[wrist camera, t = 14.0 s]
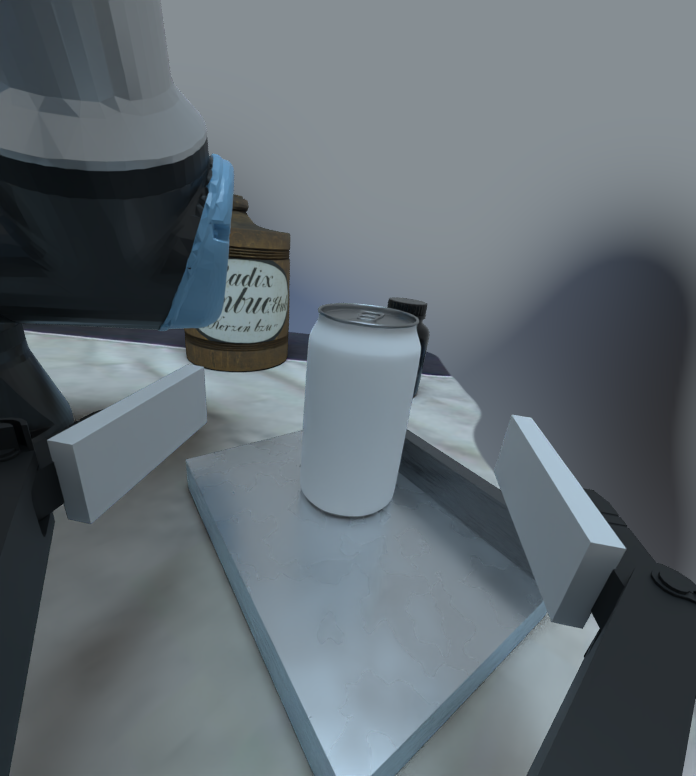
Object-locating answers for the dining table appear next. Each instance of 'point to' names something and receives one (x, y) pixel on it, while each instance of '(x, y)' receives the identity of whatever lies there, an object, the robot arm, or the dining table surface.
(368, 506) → the can
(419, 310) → the supplement bottle
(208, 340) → the wooden container
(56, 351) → the dining table surface
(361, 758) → the grey tray
